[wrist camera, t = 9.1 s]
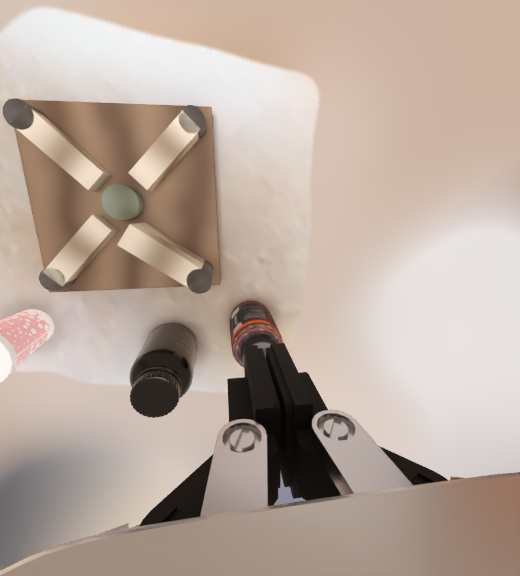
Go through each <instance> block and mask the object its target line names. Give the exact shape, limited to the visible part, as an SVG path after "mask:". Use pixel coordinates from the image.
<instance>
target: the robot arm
mask: <svg viewBox="0 0 520 576" xmlns="http://www.w3.org/2000/svg"><path fill="white" fill-rule="evenodd" d="M244 367H245V378H233V379H228V402H229V423H228V424H226V425H225V426H224V427H223V428H222V429H221V430H220V431H219V434H218V436H217V440H216V445H215V450H214V454H213V455H212V456H211V457H210V458H209V459H208V460H206V461H205V462H204V463H203V464H202V465H201V466H200V467H199V468H198V469H196V470H195V471H194V472H193V473H192V474H191V475H190V476H189V477H188V478H187V479H186V480H185V481H183V482H182V483H181V484H180V485H179V486H178V487H177V488H176V489H175V490H173V491H172V492H171V493H170V494H169V495H168V496H167V497H166V498H164V499H163V500H162V501H161V502H160V503H159V504H158V505H157V506H156V507H155V508H153V509H152V510H151V511H150V512H149V514H148V515H147V516H146V517H145V518H144V519H143V521H142V523H141V524H140V525H137V526H135V527H132V528H129V524H125V525H122V526H120V527H117V528H115V529H112V530H109V531H106V532H103V533H101V534H98V535H94V536H89V537H86V538H82V539H78V540H75V541H71V542H68V543H64V544H61V545H58V546H56V547H53V548H50V549H48V550H45V551H43V552H40V553H37V554H35V555H32V556H30V557H27V558H26V559H23V560H21V561H20V562H17V563H16V564H13V565H11V566H9V567H7V568H5V569H3V570H1V571H0V576H520V472H518V473H507V474H495V475H488V476H480V477H474V478H473V477H472V478H458V477H451V479H450V480H449V481H448V480H447V479H446V478H444V477H443V476H441V475H440V474H438V473H436V472H434V471H432V470H430V469H428V468H426V467H423V466H421V465H419V464H416V463H415V462H412V461H410V460H408V459H406V458H404V457H401V456H399V455H397V454H395V453H393V452H391V451H388V450H386V449H384V448H382V447H380V446H378V445H377V444H376V442H375V441H374V440H373V439H372V438H371V437H370V436H369V435H368V433H367V432H366V431H365V430H364V429H363V428H362V426H361V425H360V424H359V423H358V422H357V421H356V420H355V419H354V418H353V417H352V416H350V415H348V414H346V413H344V412H341V411H337V410H328V409H327V407H326V406H325V404H324V402H323V400H322V398H321V396H320V395H319V393H318V391H317V389H316V387H315V385H314V384H313V382H312V380H311V378H310V376H309V374H308V373H307V372H303V373H298V371H297V369H296V367H295V365H294V363H293V361H292V359H291V357H290V355H289V353H288V350H287V348H286V346H285V344H284V343H279V344H271V345H270V348H266V358H265V355H264V352H263V348H258V346H257V345H251V346H244ZM280 470H281V474H282V479H283V483H284V486H285V487H289V486H290V488H291V492H292V496H293V498H300V497H302V498H303V499H305V500H306V501H301V502H294V503H287V504H281V505H274V503H275V502H276V500H277V499H278V488H280ZM273 505H274V506H273Z"/></svg>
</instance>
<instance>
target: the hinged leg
mask: <svg viewBox="0 0 520 576" xmlns="http://www.w3.org/2000/svg"><path fill="white" fill-rule="evenodd" d="M117 245H118V246H119V247H121V248H123V249H124V250H126V251H128V252H129V253H131V254H133V255H134V256H136V257H138V258H139V259H141V260H143V261H144V262H146V263H148V264H149V265H151V266H153V267H154V268H156V269H158V270H159V271H161V272H163V273H164V274H166V275H168V276H169V277H171V278H173V279H174V280H176V281H178V282H179V283H181V284H183V285H184V286H186V287H188V288H189V289H190V290H191V291H193V292H195V293H204V292H206V291H208V290H209V289H210V287H211V285H212V280H213V272H214V269H213V266H212V264H211V263H210V262H208V261H206V260H204V259H202V258H201V257H199V256H198V255H196V254H194V253H193V252H191V251H190V250H188V249H187V248H185V247H183V246H182V245H180V244H179V243H177V242H176V241H174V240H173V239H171V238H169V237H168V236H166V235H165V234H163V233H162V232H160V231H158V230H157V229H155V228H154V227H152V226H151V225H149V224H147V223H136V224H129V226H128V228H127V229H126V231H125V233H124V234H123V236H122V238H121V239H120V241H119V243H118V244H117Z"/></svg>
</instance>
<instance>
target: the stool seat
mask: <svg viewBox="0 0 520 576" xmlns="http://www.w3.org/2000/svg"><path fill="white" fill-rule="evenodd" d="M3 115H4V118H5V119H6V121H7V122H8V123H9V124H10V125H11V126H12V127H14V128H15V132H16V137H17V142H18V147H19V151H20V156H21V161H22V166H23V170H24V175H25V180H26V185H27V189H28V194H29V199H30V204H31V208H32V213H33V218H34V222H35V227H36V232H37V237H38V241H39V246H40V251H41V256H42V260H43V265H44V270H43V271H42V272H41V273H40V275H39V280H40V283H41V285H42V286H43V287H44V288H46V289H48V290H49V292H66V291H89V290H112V289H135V288H159V287H182V286H184V285H183V284H181V283H179V282H178V281H176V280H174V279H173V278H171V277H169V276H168V275H166V274H164V273H163V272H161V271H159V270H158V269H156V268H154V267H153V266H151V265H149V264H148V263H146V262H144V261H143V260H141V259H139V258H138V257H136V256H134V255H133V254H131V253H129V252H128V251H126V250H124V249H123V248H121V247H119V246H118V245H117V244H118V243H119V241H120V239H121V238H122V236H123V234H124V233H125V231H126V229H127V228H128V226H129V224H136V223H147V224H149V225H151V226H152V227H154V228H155V229H157V230H158V231H160V232H162V233H163V234H165V235H166V236H168V237H169V238H171V239H173V240H174V241H176V242H177V243H179V244H180V245H182V246H183V247H185V248H187V249H188V250H190V251H191V252H193V253H194V254H196V255H198V256H199V257H201V258H202V259H204V260H206V261H208V262H210V263H211V264H212V266H213V269H214V272H213V280H212V285H220V268H219V248H218V227H217V207H216V186H215V166H214V145H213V125H212V109H211V107H200V106H193V105H188V106H173V105H146V104H119V103H92V102H65V101H38V100H20V99H9V100H8V101H7V102H6V103H5V104H4V106H3Z"/></svg>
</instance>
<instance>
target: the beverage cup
mask: <svg viewBox="0 0 520 576" xmlns="http://www.w3.org/2000/svg"><path fill="white" fill-rule="evenodd" d="M54 328H55V327H54V323H53V320H52V319H51V318H50V316H49V315H48V314H46V313H45V312H43V311H40V310H37V309H27V310H24V311H22V312H19V313H17V314H14V315H11V316H9V317H6V318H4V319H1V320H0V382H2V381H3V380H5V379H6V378H7V377H8V376H9V375H10V374H11V373H12V372H13V371H14V369H15V367H16V366H18V365H19V364H20V363H21V362H22V361H23V360H24V359H26V358H27V357H28V356H29V355H30V354H31V353H33V352H34V351H35V350H36V349H37V348H38V347H40V346H41V345H42V344H43V343H44V342H45V341H47V340H48V339H49V338H50V337H51V335H52V334H53V332H54Z"/></svg>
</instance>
